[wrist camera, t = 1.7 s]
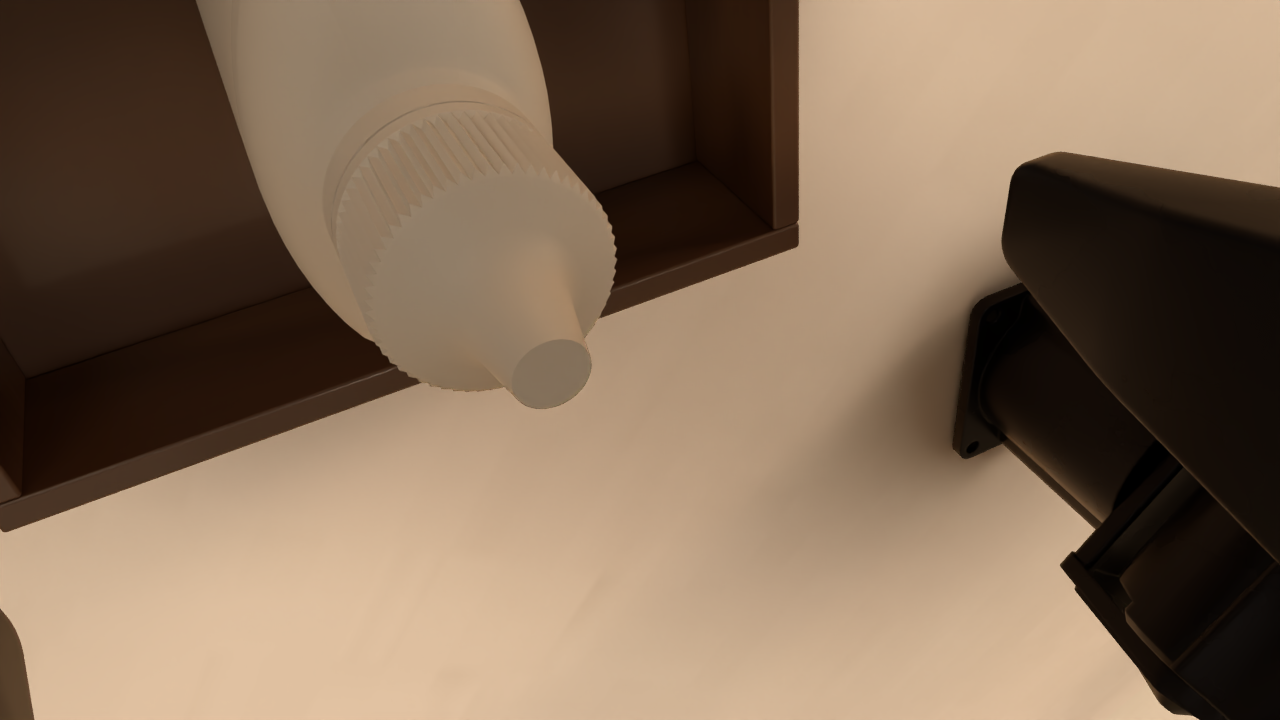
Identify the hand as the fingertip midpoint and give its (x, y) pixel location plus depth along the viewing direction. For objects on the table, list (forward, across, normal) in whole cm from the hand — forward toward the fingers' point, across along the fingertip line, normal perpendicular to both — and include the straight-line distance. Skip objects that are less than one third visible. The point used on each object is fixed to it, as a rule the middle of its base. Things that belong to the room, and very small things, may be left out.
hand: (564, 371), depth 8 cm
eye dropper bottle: (+12, 0, 0) cm, 12 cm away
